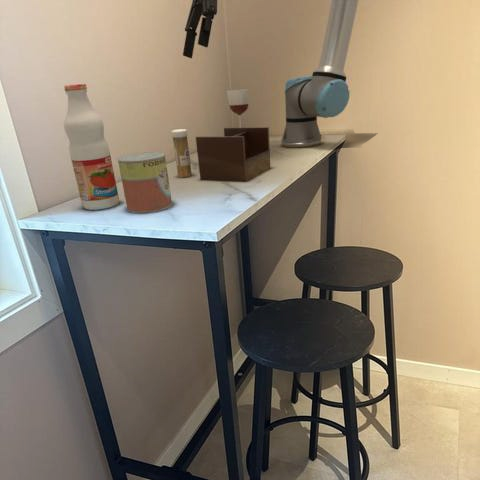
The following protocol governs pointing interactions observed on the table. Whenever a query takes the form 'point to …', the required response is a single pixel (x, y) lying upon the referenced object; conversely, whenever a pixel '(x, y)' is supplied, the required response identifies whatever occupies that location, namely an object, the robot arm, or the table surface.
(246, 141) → the box
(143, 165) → the canned food
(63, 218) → the table surface
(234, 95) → the wineglass
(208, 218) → the table surface
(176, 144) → the sprinkles bottle
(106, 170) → the fruit juice
